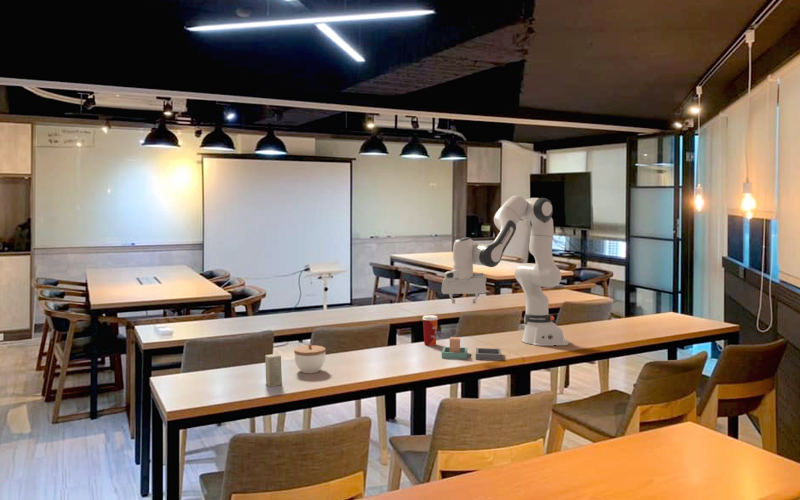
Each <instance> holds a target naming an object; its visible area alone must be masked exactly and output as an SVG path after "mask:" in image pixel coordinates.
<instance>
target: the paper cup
mask: <svg viewBox="0 0 800 500" xmlns="http://www.w3.org/2000/svg"><path fill="white" fill-rule="evenodd" d="M438 320H439V318H438V316H437V315H433V314H430V315H429V314H428V315H423V316H422V326H423V341H424V346H428V347H429V346H430V347H435V346H436V345H437V332H438Z"/></svg>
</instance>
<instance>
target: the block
mask: <svg viewBox="0 0 800 500" xmlns="http://www.w3.org/2000/svg"><path fill="white" fill-rule="evenodd" d="M449 347H450V352H456V353H460V347H461V337H460V336H459V337H458V336H450V337H449Z"/></svg>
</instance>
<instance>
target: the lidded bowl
mask: <svg viewBox="0 0 800 500" xmlns="http://www.w3.org/2000/svg"><path fill="white" fill-rule="evenodd" d="M293 351H294V361H295V364H296V366H297V368H298V370H300V371H301V373H303V374H313V373H314V374H315V373H318V372H320V370H321V369H322V367H323V366H324V364H325V361H326V351H327V350H326V347H324V346H322V345H314V344H313V345H312V343H308V345H301V346H298V347H295V348H294V350H293Z"/></svg>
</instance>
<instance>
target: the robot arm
mask: <svg viewBox="0 0 800 500" xmlns="http://www.w3.org/2000/svg"><path fill="white" fill-rule="evenodd" d="M553 207H554V206H553V204H552V201H551V200H549V199H548V198H546V197H545V198H544V197H540V198H539V197H530V198H524V197H522V196H521V195H518V194H517V195H516V194H515V195H512V196H511V197H509V198H508V199H507V200H505V202H504V203H503V204H502V205H501V206H500V208H498V210H496V212H495V214H494V216H493V223H494V225H495V227H496V229H498V230H499V232H498V234H497V236H496V238H495V239H494V241H492V243H489V244H485V243H483V244H482V243H479V242H476V241H474V240H473V239H472V238H471V237H466V236H464V237H459V238H457V239H455V240H454V242H453V246H452V247H453V250H452V257H453V258H452V259H453V267H452V269H451V270H448V271H446V272H444V274H443V277H444V278H443V280H442V282H441V293H442V294H443V295H449V298H450V299H451V304H456V298H455V299H454V298H453V297H454V296H453V295H461V294H462V295H464V294H465V295H469V294H470V295H474V297H475V298H473V299H472V304H477V299H478V297H479V294H481V295H482V294H486V292H487V286H486V282H487V275H486V274H485V273H483V272H480V273H479V272H474V265H478V266H484V267H488V268H495V267H496V266H498V265H499V263H500V262H501V260H502V257H503V255H504V253H505V250H506V249H507V248H508V245H509V244H510V242H511V240H512V238H513V237H514V236H515V233H516V230H517V225H518V223H519V222H521V221H526V222H528V221H529V222H531V223H530V224H531V229H530V234H529V244H528V251H529V253H530V254H531V255H532V256H533V257H534V260H535V261H534V262H535V263H533V262H531V263H530V262H529V263H525V262H524V263H521V264H518V265H517V266H516V268H515V270H514V277H515V280H516V282H518V284H519V285H520V286H521V289H522V290H523V293H524V298H525V313H524V317H523V318H524V321H523V322H524V330H523V336H522V339H521V341H522V342H523V343H525V344H531V345H534V346H539V347H540V346H544V347H545V346H546V347H547V346H549V347H550V346H551V347H553V346H554V345H556V346H568V345H569V343H570V342H569V340H568V339H566V338H565V334H564V331H563V329H562V328H560V327H559V326H558V325H557V324H556V323H554V322H553V321H554V320H555V317H554V316H553V315H552V314H550V313H549V297H548V296H547V295H546V294H545V293H544V292H543V290H542V287H543V288H553V287H557V286H558V285H560V283H561V282H562V272H561V270H560V268H559V267H558V266H557V265H556V263H555V261H554V258H553V257H554V256H553V242H554V241H553V240H554V219H553V218H552V215H553V213H554V212H553V211H554V208H553Z"/></svg>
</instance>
